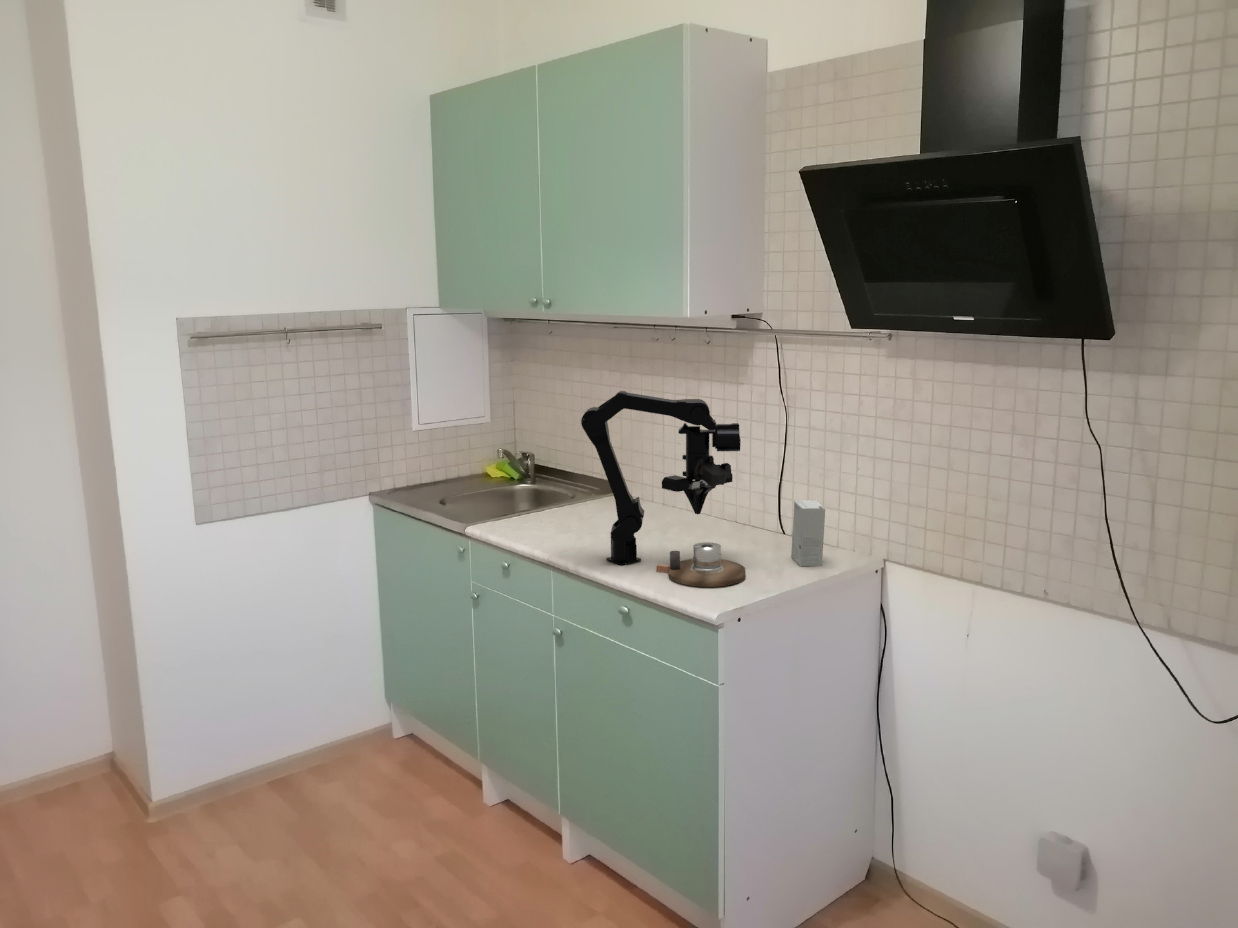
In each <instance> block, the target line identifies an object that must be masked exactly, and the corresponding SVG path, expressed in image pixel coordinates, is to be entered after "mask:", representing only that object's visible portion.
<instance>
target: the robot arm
mask: <svg viewBox="0 0 1238 928" xmlns="http://www.w3.org/2000/svg"><path fill="white" fill-rule="evenodd" d="M709 407H710V406H709V405H708V403H707V402H706V401H705V400H703V399H699V398H684V399H683V398H682V399H669V398H663V397H656V396H650V395H644V394H638V393H631V392H628V391H626V390H620V391H618V392H617V393H615V395H614V396H612V397H611V398H609V399H608V400H606V401H605V402H603V403H602V404H601V405H599V406H598V407H597V406H593V407H589V408H587V409H586V410H585V412H584V413H583V415H582V417H581V419H580V424H581V427H582V429H583V430H584V432H585V434H586V436H587V438H588V439H589V440H590V442H591V443H592V445H593V446H594V448H595V449H596V453H597V455H598V457H599V460H600V463H601V465H602V468H603V471H604V474H605V477H606V480H607V482H608V484H609V488H610V489H611V492H612V495H613V497H614V501H615V509H616V516H617V520H616V521H614V523H613V524H612V526H611V530H610V556H609V557H606V558H605V560H606V561H608V562H611V563H613V564H617V565H619V566H624V565H630V564H632V563H637V562H641V561H642V559H641V558H640V557H638V553H637V548H638V547H637V537H635V534H637V533H638V532H639V531H640V530H641V528H642V526H643V520H644V516H645V509H644V508H643V507H642V505H641V501H640V500H641V499H640V496H637V497H636V498H634V497H633V496H632V494H631V493H630V491H629V488H628V485H627V483H626V479H625V477H624V474H623V472H622V468H621V467H620V464H619V463H620V462H619V460H618V458H617V455H616V453H615V450H614V447H613V444H612V442H611V437H610V428H609V422H608V421H609V420H611V419H612V418H613V417H615V416H616V415H617V414H618V413H619V412H621V411H623V410H624V409H625V410H633V411H637V412H644V413H651V414H655V415H656V414H657V415H663V416H669V417H672V418H675V419H678V420H680V421H682V422H684V423H683V425H682V426H681V427H680V428H678V431H677V433H678V435H685V454H682V460H684V461H685V471H682V476H680V475H675V474H674V475H669V476H664V477H663V478H662V480H661V489H663V490H667V491H672V492H675V493H677V492H679V493H680V492H684V495H686V497H687V500H688V502H689V503H690V506H691V508H692V510H693V512H694V514H695V515H700V514H701V512H702V510H703V507H704V504H705V501H706V498H707V496H708V494H709V492H710V491H712V490H713V489H716V488H717V486H720V485H721V486H723V485H725V484H728V483H733V473H732V467H731V466H732V465H731V464H730V463H729V462H724V463H721V464H716V463H715V461H714V460H715V459H714V456H713V455H711V454H710V435H711V438H712V439H711V447H712V448H714V449H716V452H741V437H740V424H739V423H738V422H734V423H717V422H716V419H713V417H712V415H711V410H710V408H709ZM687 423H688V424H690V425H691V426H690V425H688V424H687ZM701 426H702V427H704V428H705V429H701Z"/></svg>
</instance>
